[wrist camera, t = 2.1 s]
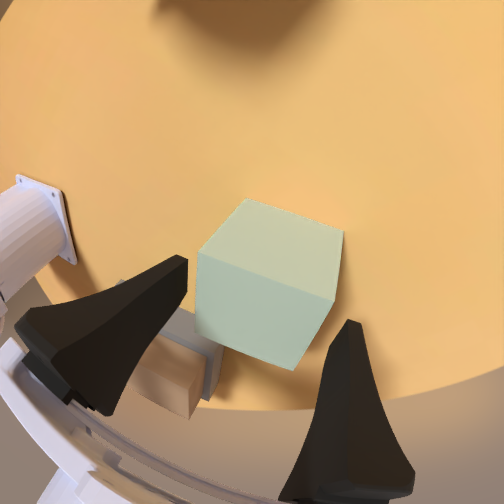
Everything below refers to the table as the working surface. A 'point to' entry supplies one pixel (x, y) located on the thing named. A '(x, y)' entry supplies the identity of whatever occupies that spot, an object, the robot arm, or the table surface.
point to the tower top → (170, 376)
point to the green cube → (267, 282)
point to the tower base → (195, 346)
